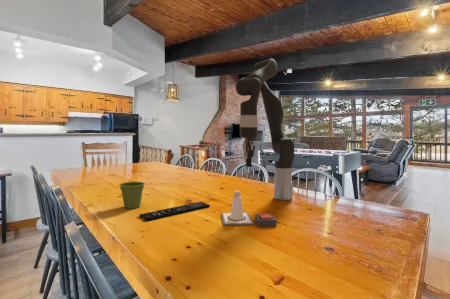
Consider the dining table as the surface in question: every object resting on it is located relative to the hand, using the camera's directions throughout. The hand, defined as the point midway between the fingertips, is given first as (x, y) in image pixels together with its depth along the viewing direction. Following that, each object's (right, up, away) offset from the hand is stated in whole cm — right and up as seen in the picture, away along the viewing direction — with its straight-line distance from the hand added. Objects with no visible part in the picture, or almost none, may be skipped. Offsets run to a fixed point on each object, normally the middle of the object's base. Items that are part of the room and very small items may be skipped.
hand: (248, 166), depth 109 cm
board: (-5, -22, -3) cm, 23 cm away
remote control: (-32, -22, +7) cm, 40 cm away
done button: (+6, -21, -7) cm, 23 cm away
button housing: (+6, -22, -7) cm, 24 cm away
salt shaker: (-5, -21, -3) cm, 22 cm away
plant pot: (-55, -21, +14) cm, 60 cm away
